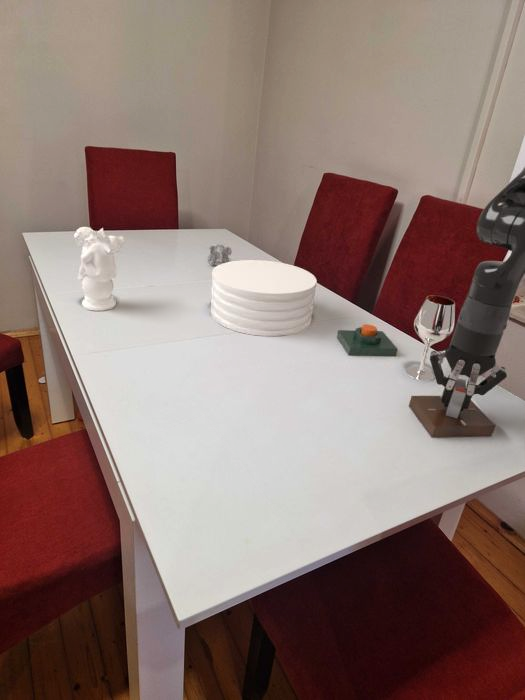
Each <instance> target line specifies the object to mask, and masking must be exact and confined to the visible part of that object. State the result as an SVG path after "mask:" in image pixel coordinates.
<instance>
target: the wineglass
mask: <svg viewBox="0 0 525 700" xmlns="http://www.w3.org/2000/svg"><path fill="white" fill-rule="evenodd" d="M455 321H456V302H455V301H454V300H453V299H451V298H449V297H446V296H441V295H435V294H433V295H428V296H426V298H425V299H424V301H423V303H422V304H421V306H420V308H419V309H418V311H417V313H416V315H415V316H414V320H413V329H414V330H415V333H416V334H417V336H418V337H419V338H420V339H421V340H422V342H423V344H424V351H423V354H422V357H421V360H420V364H419V366H408V367H407V368H405V373H406V375H407V376H409V378H412V379H414V380H416V381H421V382H431V381H434V380H435V375H434V372H433V371H431V370H430V369H427V368H425V364H426V360H427V357H428V353H429V349H430V348H431V346H433V345H434V344H437V343H439V342H442V341H444V340H446V339H448V338H449V337H450V336H451V335H452V333H454V330H455Z"/></svg>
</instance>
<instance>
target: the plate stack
mask: <svg viewBox="0 0 525 700" xmlns="http://www.w3.org/2000/svg"><path fill="white" fill-rule="evenodd" d="M211 278H212V279H211V298H210V305H211V306H210V315H211V317H212V319H213V320H214V321H215V322H216V323H218V324H219V325H221V326H222V327H224V328H226V329H228V330H231V331H234V332H238V333H240V334H245V335H250V336H251V335H252V336H259V337H282V336H288V335H289V336H290V335H293V334H296V333H299V332H302V331H304V330H306V329H307V328H308V327H309V326H310V325H311V323H312V315H313V311H314V304H315V296H316V288H317V283H318V280H317V278H316V276H315V275H314V274H313V273H311V272H310V271H308V270H306V269H305V268H301V267H299V266H296V265H292V264H289V263H284V262H280V261H279V262H278V261H273V260H263V259H262V260H261V259H241V260H232V261H228V262H226V263H224V262H222V263H220V264H218V265H216V266H215V267H214V268H213V269H212V272H211Z"/></svg>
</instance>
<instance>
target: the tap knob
mask: <svg viewBox="0 0 525 700" xmlns="http://www.w3.org/2000/svg"><path fill="white" fill-rule="evenodd" d="M466 386H467V380H466V379H463V378H459V377H458V379H457V381H456V382H455V384H454V386H453V393H452V396H451V399H450V402H449V405H448V407H447V411H446V416H450V417H453V418H458V415H459V413H460V410H461V407H462V404H463V401H464V398H465V395H466Z"/></svg>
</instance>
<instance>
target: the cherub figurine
mask: <svg viewBox="0 0 525 700" xmlns="http://www.w3.org/2000/svg"><path fill="white" fill-rule="evenodd" d="M73 239H75V242H76V244H77V245H78V247H79V248H81V255H80V261H81V264H80V266H79V270H78V275H77V280H78V281H82V282H81V288H82V291H83V294H84V299H83V300H82V302H81V305H82V307H83V309H85V310H87V311H96V312H102V311H107V310H112V309H113V308H114V307H115V306H116V304H117V301H116V299H115V298H114V295H113V294H112V293H113V291H114V281H113V279H115V278H116V277H117V265H116V262H115V257H114V254H115V255H116V254H119V253H121V250H122V249H123V247H124V244H125V242H126V239H125V237H124V236H121V235H120V236H116V235H108V234H106V231H105V230H104V227H102V228H100V229H99V230H98V231H97V232H96V230H93V229H92V227H91V226H90V227H88V226H81V227H79V228H78V229H76V231H75V233H74V234H73Z"/></svg>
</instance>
